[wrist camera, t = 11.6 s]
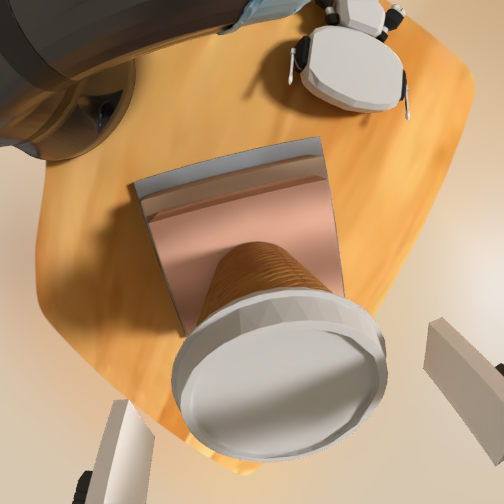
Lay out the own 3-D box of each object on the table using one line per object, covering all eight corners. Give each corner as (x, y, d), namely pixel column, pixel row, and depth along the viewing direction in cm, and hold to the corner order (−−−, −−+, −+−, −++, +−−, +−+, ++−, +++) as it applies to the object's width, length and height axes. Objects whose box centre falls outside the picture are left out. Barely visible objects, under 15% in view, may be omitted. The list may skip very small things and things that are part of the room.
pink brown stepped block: (137, 180, 29) (101, 196, 20) (316, 136, 29) (356, 134, 20) (189, 335, 35) (181, 394, 26) (341, 297, 35) (376, 344, 26)
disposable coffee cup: (260, 356, 25) (284, 481, 14) (164, 289, 22) (125, 415, 11) (345, 274, 23) (430, 376, 12) (252, 188, 20) (293, 248, 9)
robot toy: (297, -17, 24) (278, 98, 27) (307, -38, 19) (288, 87, 23) (396, 17, 26) (389, 129, 29) (416, 4, 21) (413, 125, 25)
